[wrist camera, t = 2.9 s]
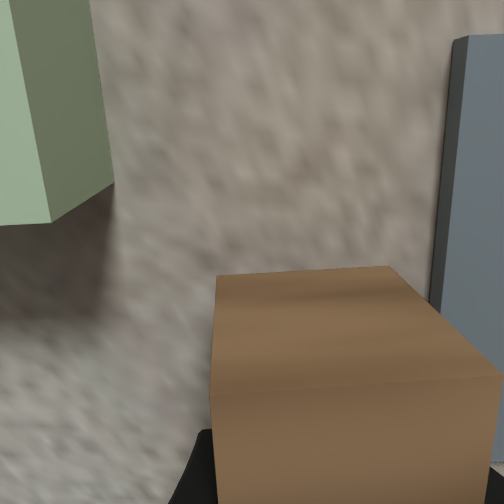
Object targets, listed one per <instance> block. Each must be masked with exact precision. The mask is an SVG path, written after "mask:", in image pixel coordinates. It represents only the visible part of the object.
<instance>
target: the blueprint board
mask: <svg viewBox="0 0 504 504" xmlns="http://www.w3.org/2000/svg"><path fill="white" fill-rule="evenodd" d="M429 304H430V305H431V306H432V307H433V308H434V309H435V310H436V311H437V312H438V313H439V314H440V315H441V316H442V317H444V318H445V319H446V320H447V321H448V322H449V323H450V324H451V325H452V326H453V327H454V328H455V329H456V330H457V331H458V332H459V333H460V334H461V335H462V336H464V337H465V338H466V339H467V340H468V341H469V342H470V343H471V344H472V345H473V346H474V347H475V348H476V349H477V350H478V351H479V352H480V353H481V354H482V355H483V356H485V357H486V358H487V359H488V360H489V361H490V362H491V363H492V364H493V365H494V366H495V367H496V368H497V369H498V370H499V371H500V372H501V373H502V374H503V375H504V34H492V35H469V36H465V37H462V38H459V39H456V40H454V45H453V55H452V66H451V77H450V88H449V98H448V109H447V120H446V130H445V141H444V152H443V163H442V173H441V184H440V195H439V205H438V216H437V227H436V238H435V248H434V259H433V270H432V280H431V291H430V302H429ZM491 462H504V378H503V384H502V391H501V397H500V403H499V410H498V416H497V423H496V429H495V436H494V442H493V449H492V455H491Z"/></svg>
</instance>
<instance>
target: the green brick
mask: <svg viewBox="0 0 504 504" xmlns="http://www.w3.org/2000/svg"><path fill="white" fill-rule="evenodd" d="M114 182H115V181H114V173H113V166H112V159H111V152H110V145H109V138H108V131H107V124H106V117H105V110H104V103H103V96H102V89H101V82H100V75H99V68H98V61H97V53H96V46H95V39H94V32H93V25H92V18H91V11H90V4H89V0H0V226H2V225H20V224H39V223H52V222H53V221H55V220H57V219H58V218H60V217H61V216H63V215H64V214H66V213H67V212H69V211H70V210H72V209H74V208H75V207H77V206H78V205H80V204H81V203H83V202H84V201H86V200H88V199H89V198H91V197H92V196H94V195H95V194H97V193H98V192H100V191H102V190H103V189H105V188H106V187H108V186H109V185H111V184H112V183H114Z"/></svg>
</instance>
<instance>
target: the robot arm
mask: <svg viewBox="0 0 504 504" xmlns="http://www.w3.org/2000/svg"><path fill="white" fill-rule="evenodd" d="M168 504H218V494H217V482H216V470H215V459H214V447H213V435H212V429H203V430H201V431H200V432H199V433H198V436H197V440H196V443H195V446H194V449H193V451H192V454H191V456H190V459H189V461H188V463H187V466H186V468H185V470H184V473H183V475H182V477H181V479H180V481H179V483H178V485H177V487H176V489H175V491H174V493H173V495H172V497H171V499H170V501H169V503H168ZM484 504H504V477H503V476H502V475H500V474H499V473H498V472H496V471H495V470H494V469H493V468H491V467H490V468H489V474H488V481H487V487H486V494H485V500H484Z"/></svg>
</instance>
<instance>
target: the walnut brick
mask: <svg viewBox="0 0 504 504" xmlns="http://www.w3.org/2000/svg"><path fill="white" fill-rule="evenodd" d="M503 378H504V375H503V374H502V373H501V372H500V371H499V370H498V369H497V368H496V367H495V366H494V365H493V364H492V363H491V362H490V361H489V360H488V359H487V358H486V357H485V356H483V355H482V354H481V353H480V352H479V351H478V350H477V349H476V348H475V347H474V346H473V345H472V344H471V343H470V342H469V341H468V340H467V339H466V338H465V337H464V336H462V335H461V334H460V333H459V332H458V331H457V330H456V329H455V328H454V327H453V326H452V325H451V324H450V323H449V322H448V321H447V320H446V319H445V318H444V317H442V316H441V315H440V314H439V313H438V312H437V311H436V310H435V309H434V308H433V307H432V306H431V305H430V304H429V303H428V302H427V301H426V300H425V299H424V298H423V297H421V296H420V295H419V294H418V293H417V292H416V291H415V290H414V289H413V288H412V287H411V286H410V285H409V284H408V283H407V282H406V281H405V280H404V279H403V278H401V277H400V276H399V275H398V274H397V273H396V272H395V271H394V270H393V269H392V268H391V267H390V266H374V267H357V268H341V269H324V270H307V271H290V272H273V273H256V274H239V275H222V276H217V278H216V294H215V310H214V326H213V342H212V358H211V374H210V390H209V400H210V411H211V423H212V435H213V447H214V459H215V470H216V482H217V494H218V504H484V500H485V494H486V487H487V481H488V474H489V468H490V462H491V455H492V449H493V442H494V436H495V429H496V423H497V416H498V410H499V403H500V397H501V391H502V384H503Z"/></svg>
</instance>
